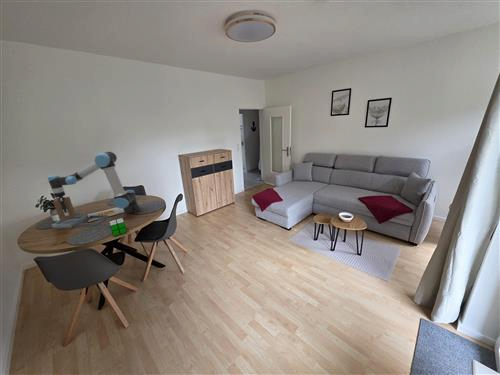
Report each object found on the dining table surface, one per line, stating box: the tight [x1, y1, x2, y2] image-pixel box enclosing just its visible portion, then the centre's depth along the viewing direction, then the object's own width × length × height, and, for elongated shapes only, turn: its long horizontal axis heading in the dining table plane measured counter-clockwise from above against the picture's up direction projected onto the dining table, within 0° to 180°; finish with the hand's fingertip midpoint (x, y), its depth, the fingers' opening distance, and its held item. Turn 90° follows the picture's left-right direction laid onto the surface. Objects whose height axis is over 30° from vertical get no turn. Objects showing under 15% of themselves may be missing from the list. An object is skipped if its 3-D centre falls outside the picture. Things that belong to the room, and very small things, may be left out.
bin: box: [51, 215, 87, 229], centre depth 191 cm, size 18×18×4 cm
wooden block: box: [52, 196, 77, 222], centre depth 186 cm, size 10×10×20 cm
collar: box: [75, 214, 110, 227], centre depth 191 cm, size 18×18×2 cm
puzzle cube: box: [109, 218, 128, 237], centre depth 168 cm, size 10×10×10 cm
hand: (66, 213), depth 188 cm, fingers closed on wooden block, 11 cm apart
